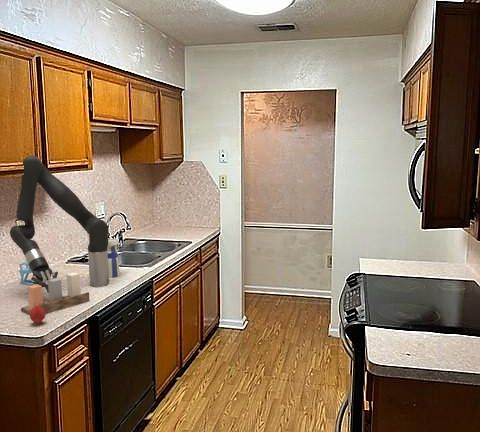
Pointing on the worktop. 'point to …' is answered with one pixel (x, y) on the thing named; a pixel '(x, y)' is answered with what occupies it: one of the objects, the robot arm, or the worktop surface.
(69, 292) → the cream rectangular block
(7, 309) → the worktop surface
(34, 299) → the orange block
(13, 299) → the worktop surface
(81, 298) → the wooden divided tray
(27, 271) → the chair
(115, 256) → the water bottle
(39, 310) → the onion
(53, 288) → the grey rectangular block
